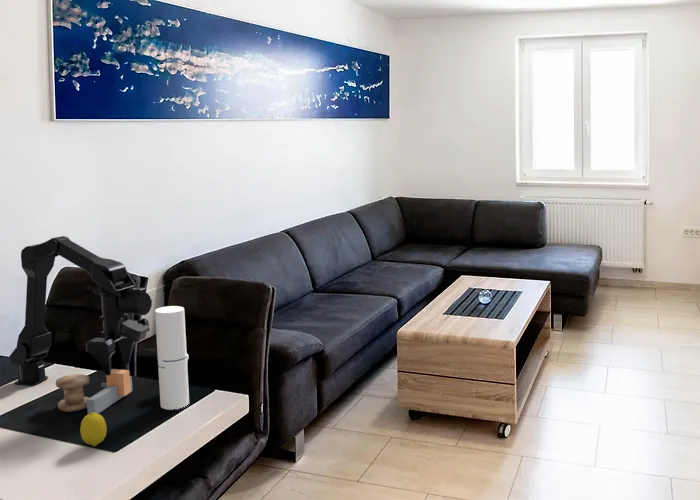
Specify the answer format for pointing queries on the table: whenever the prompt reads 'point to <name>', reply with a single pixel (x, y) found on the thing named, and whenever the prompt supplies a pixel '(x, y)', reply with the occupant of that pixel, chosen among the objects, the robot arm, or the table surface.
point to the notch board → (104, 399)
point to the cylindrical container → (172, 357)
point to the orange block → (119, 381)
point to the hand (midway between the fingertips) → (117, 369)
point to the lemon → (93, 429)
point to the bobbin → (73, 392)
